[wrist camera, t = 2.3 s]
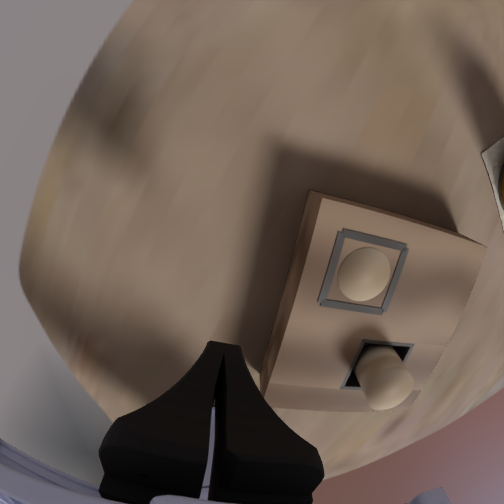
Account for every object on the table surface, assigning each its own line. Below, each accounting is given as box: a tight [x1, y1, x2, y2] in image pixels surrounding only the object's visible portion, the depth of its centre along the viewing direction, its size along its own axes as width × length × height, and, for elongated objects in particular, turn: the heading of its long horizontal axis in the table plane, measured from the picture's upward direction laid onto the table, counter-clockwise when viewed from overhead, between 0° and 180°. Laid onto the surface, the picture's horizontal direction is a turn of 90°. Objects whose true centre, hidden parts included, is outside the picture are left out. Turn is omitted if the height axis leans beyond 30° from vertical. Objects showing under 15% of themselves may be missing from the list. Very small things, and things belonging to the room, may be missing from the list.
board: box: [260, 190, 487, 412], centre depth 22 cm, size 16×14×4 cm
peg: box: [353, 343, 414, 410], centre depth 20 cm, size 4×4×4 cm
